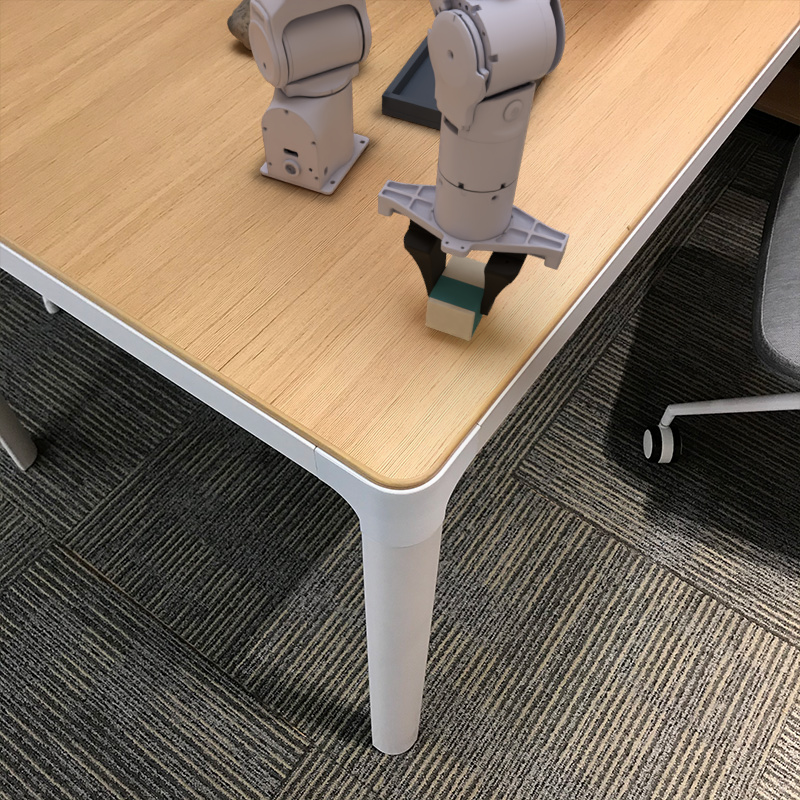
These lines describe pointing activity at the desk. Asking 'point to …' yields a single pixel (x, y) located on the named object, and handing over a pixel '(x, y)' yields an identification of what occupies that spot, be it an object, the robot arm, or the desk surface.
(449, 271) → the eraser
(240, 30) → the stone
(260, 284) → the desk surface
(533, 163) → the desk surface
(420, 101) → the tray
